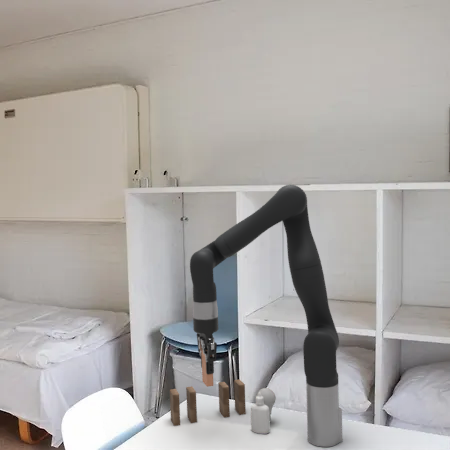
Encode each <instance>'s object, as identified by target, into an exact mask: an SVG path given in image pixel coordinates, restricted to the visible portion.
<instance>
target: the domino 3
mask: <svg viewBox="0 0 450 450" xmlns="http://www.w3.org/2000/svg"><path fill="white" fill-rule="evenodd" d="M206 351H207V350H206ZM210 357H212V355H210ZM201 373H202V374H201V375H202V376H201V377H202V378H201V379H202V382H203V384H204V385H205V386H206V387H214V373H213V374H207V373H206V361H205V355H204V354H203V350H202V368H201Z"/></svg>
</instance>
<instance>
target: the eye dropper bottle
mask: <svg viewBox="0 0 450 450" xmlns="http://www.w3.org/2000/svg"><path fill="white" fill-rule="evenodd" d="M257 393H258V392H257ZM256 396H257V395H256ZM256 396H255V403H254V404H252V405H251V406H250V431H251V432H253V433H256V434H261V435H262V434H263V435H265V434H266V435H267V434H268V433H269V432H271V423H270V422H271V420H270V416H269V407H268V406H266V405H265V404H264V397H263V396H261V393H260V392H259V393H258V396H257V397H256Z"/></svg>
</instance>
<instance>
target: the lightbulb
mask: <svg viewBox="0 0 450 450" xmlns="http://www.w3.org/2000/svg"><path fill="white" fill-rule="evenodd" d="M259 392H260V393H261V396H263V397H264V404H265V405H266V406H268V407H269V416H270V421H271V420H272V419H271V418H272V417H271V415H272V410H273V407H274V405H275V403H276V400H277V397H276V394H275V392H274V390H272V389H271V388H270V387H269V388H267V387H263V388H261V389H259V390H257V393H256V396H255V398H256V397H257V396H258V393H259Z"/></svg>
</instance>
